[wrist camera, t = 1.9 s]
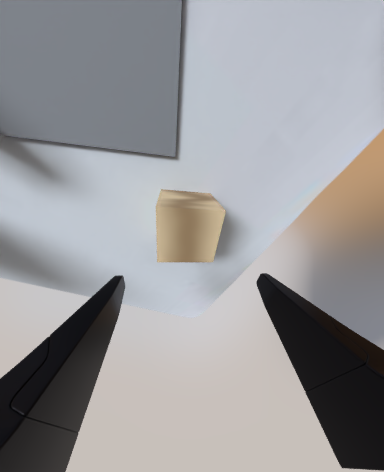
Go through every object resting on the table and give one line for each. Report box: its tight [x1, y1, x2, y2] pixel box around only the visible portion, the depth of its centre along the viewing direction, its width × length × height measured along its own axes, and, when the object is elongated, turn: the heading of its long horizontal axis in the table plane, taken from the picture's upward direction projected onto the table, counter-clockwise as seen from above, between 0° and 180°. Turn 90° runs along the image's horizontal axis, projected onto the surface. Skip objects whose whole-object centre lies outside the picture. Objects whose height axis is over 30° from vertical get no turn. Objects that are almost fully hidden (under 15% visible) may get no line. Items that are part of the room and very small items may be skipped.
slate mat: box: [0, 0, 182, 157], centre depth 9 cm, size 15×15×1 cm
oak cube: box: [156, 189, 226, 262], centre depth 16 cm, size 6×6×6 cm
